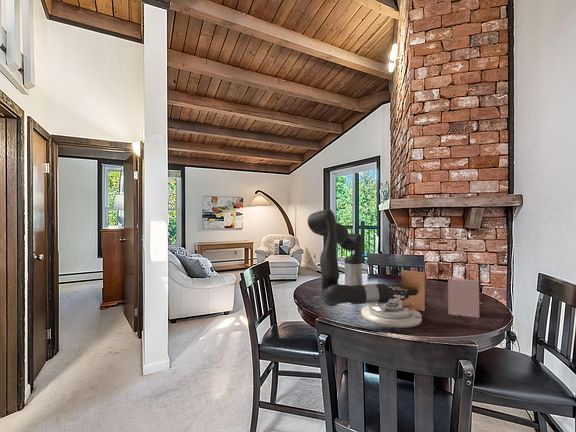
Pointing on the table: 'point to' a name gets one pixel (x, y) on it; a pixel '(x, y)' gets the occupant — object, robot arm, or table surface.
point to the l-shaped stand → (407, 306)
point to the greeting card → (463, 297)
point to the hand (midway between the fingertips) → (415, 292)
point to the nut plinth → (387, 322)
